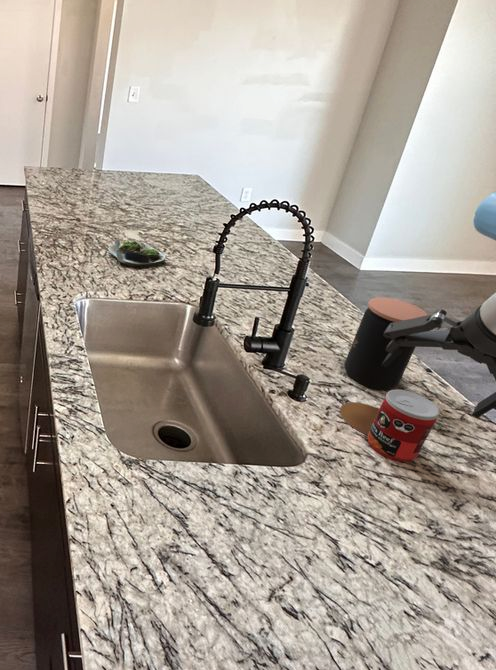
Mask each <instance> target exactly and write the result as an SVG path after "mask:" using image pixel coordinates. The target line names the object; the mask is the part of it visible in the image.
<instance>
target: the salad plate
mask: <svg viewBox="0 0 496 670" xmlns="http://www.w3.org/2000/svg"><path fill="white" fill-rule="evenodd" d="M113 242H114V244H112V245H110V246H109V247H108V248H107V249H108V252H109V253H110V254H111V255H112V256H113V257H115V258H116V259H117V261H118V262H120V263H121V264H122V265H124V266H126V267H132V268H139V269H141V268H153V267H157V266H159V265H161V264H163V263H164V262H165V261H166V255H165V254H164V253H162V252H160V251H159V250H157V249H156V248H155V247H153V246H151V245H150V244H147V243H144V242H137V241H135V240H132V241H130V240H129V241H127V239H125V240H124V241H123V243H121V241H120V240H119V239H115V240H114V241H113Z"/></svg>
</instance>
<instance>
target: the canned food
mask: <svg viewBox="0 0 496 670" xmlns="http://www.w3.org/2000/svg"><path fill="white" fill-rule="evenodd" d="M378 409H379V411H378V413H377V415H376V418H375V420H374V422H373V424H372V426H371V428H370V431H369V433H368V435H367V442H368V444H369V446H370V447H371V448H372V449H373V450H374V451H375V452H377V453H378V454H380V455H381V456H383V457H385V458H387V459H390V460H393V461H397V462H405V463H407V462H411V461H413V460H414V459H415V458H417V457H418V456H419V453H420V451H421V450H422V448H423V446H424V444H425V442H426V440H427V439H428V437H429V435H430V433H431V431H432V429H433V427H434V426H435V424H436V421H437V420H438V417H439V415H440V409H439V407H438V406H437V405H436V404H435V403H434V402H432V401H431V400H429V399H428V398H427V397H425V396H423V395H421V394H418V393H415V392H414V391H409V390H404V389H390V390H389V391H388V392H387V393H386V394H385V397H384V398H383V400H382V402H381V404H380V407H379V408H378Z"/></svg>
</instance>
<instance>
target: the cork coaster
mask: <svg viewBox="0 0 496 670" xmlns="http://www.w3.org/2000/svg"><path fill="white" fill-rule="evenodd" d="M379 409H380V408H378V407H376V406H373V405H370V404H366V403H361V402H347V403H344V404H343V405H342V406H341V407H340V410H339V413H340V416H341V418H342V419H343V420H344V422H346V423H347V424H348V425H349V426H350V427H351V428H353V429H355V431H358V432H359V433H361V434H363V435H365V436H368V433H369V431H370V428H371V426H372V424H373V422H374V420H375V418H376V415H377V413H378V411H379Z"/></svg>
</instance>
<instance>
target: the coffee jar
mask: <svg viewBox="0 0 496 670" xmlns="http://www.w3.org/2000/svg"><path fill="white" fill-rule="evenodd" d="M367 306H368V307H367V308H366V310H365V311H364V312H363V315H362V318H361V321H360V323H359V325H358V328H357V330H356V333H355V336H354V338H353V341H352V342H351V346H350V348H349V351H348V353H347V356H346V358H345V361H344V369H345V372H346V374H347V376H348V377H349V378H351V379H352V380H353V381H355V382H356V383H358V384H360V385H362V386H364V387H366V388H370V389H374V390H378V391H379V390H380V391H388V390H389V391H390V390H392V389H393V388H395V387H398V386H399V384H400V382H401V380H402V378H403V376H404V373H405V371H406V370H407V367H408V365H409V362H410V361H411V358H412V355H413V353H414V352H415V349H416V347H409V346H406V348H405V350H404V351H403V352H402V353H401V354H400V355H399V356H398V357H397V358H396V359H394V360H393V361H392V362H391V363H390V364H389V365H388V366H387V367H384V366H382V363H383V362H384V360H385V358H386V357H387V355H388V354H389V352H388V351H386V347H387V346H388V344H389V343H390V342H391V341H392V339H391V338H386V337H385V336H384V335H383V334H384V332H385V330H386V329H387V327H388V326H389V324H390V323H394V322H399V321H403V320H408V319H413V318H417V317H422V316H427V315H428V313H427V312H426V311H424V310H423V309H422V308H420V307H418V306H417V305H414V304H412V303H409V302H407V301H404V300H400V299H397V298H391V297H382V296H381V297H373V298H371V299H369V301H368V303H367Z"/></svg>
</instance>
